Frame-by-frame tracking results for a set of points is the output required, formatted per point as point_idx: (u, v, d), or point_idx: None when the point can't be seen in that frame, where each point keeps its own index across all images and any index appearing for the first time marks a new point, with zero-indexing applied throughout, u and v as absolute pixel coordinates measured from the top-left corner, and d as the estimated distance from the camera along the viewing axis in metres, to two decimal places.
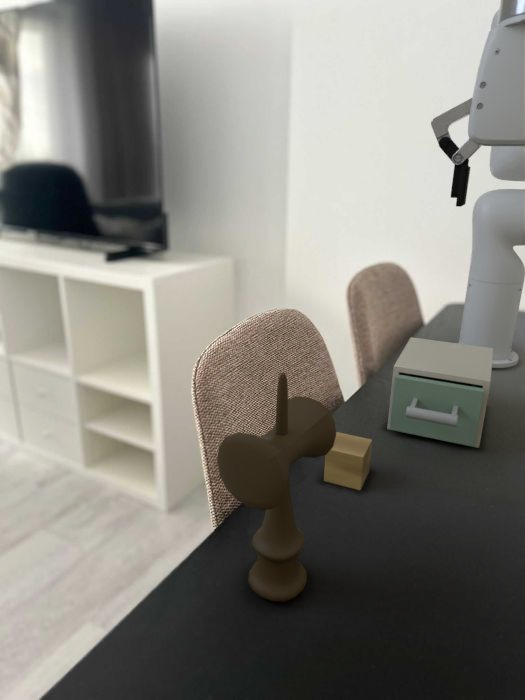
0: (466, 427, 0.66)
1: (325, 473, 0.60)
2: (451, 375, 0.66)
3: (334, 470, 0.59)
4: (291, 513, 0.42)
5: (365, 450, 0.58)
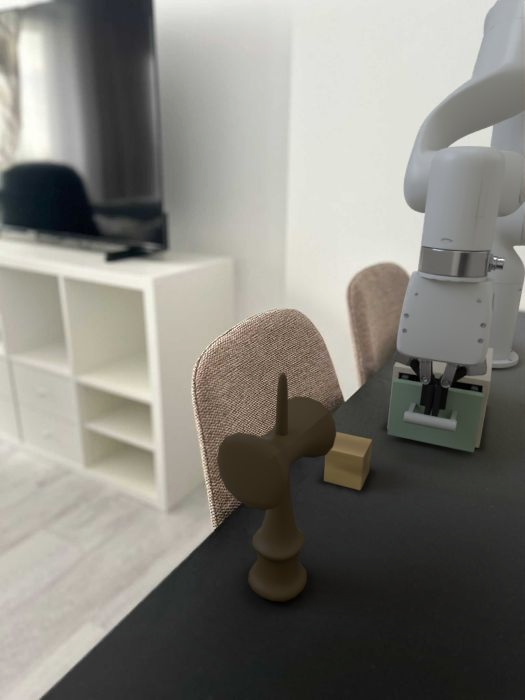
0: (465, 432, 0.64)
1: (325, 473, 0.60)
2: None
3: (334, 470, 0.59)
4: (291, 513, 0.42)
5: (365, 450, 0.58)
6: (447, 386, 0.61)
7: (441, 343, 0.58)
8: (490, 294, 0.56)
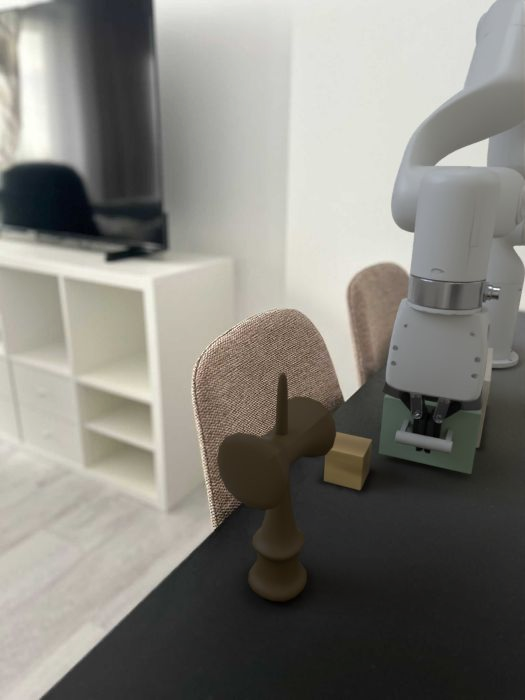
0: (462, 452, 0.60)
1: (325, 473, 0.60)
2: None
3: (334, 470, 0.59)
4: (291, 513, 0.42)
5: (365, 450, 0.58)
6: (440, 421, 0.57)
7: (432, 378, 0.55)
8: (485, 327, 0.52)
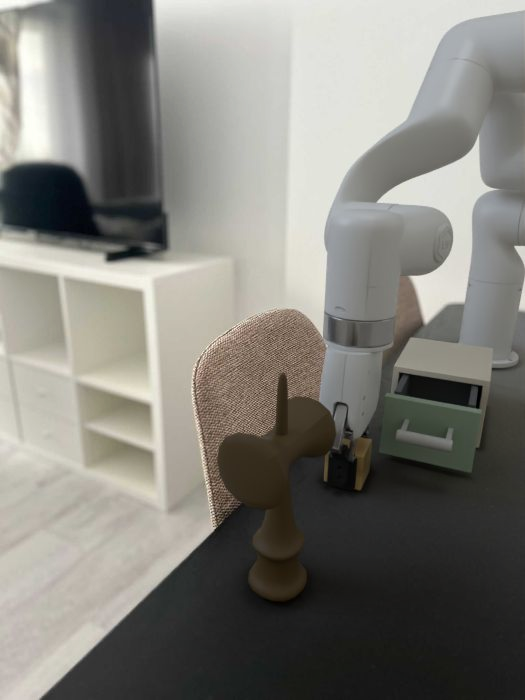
0: (462, 451, 0.60)
1: (325, 473, 0.60)
2: (451, 375, 0.66)
3: None
4: (291, 513, 0.42)
5: (365, 450, 0.58)
6: (366, 433, 0.62)
7: (373, 406, 0.57)
8: None
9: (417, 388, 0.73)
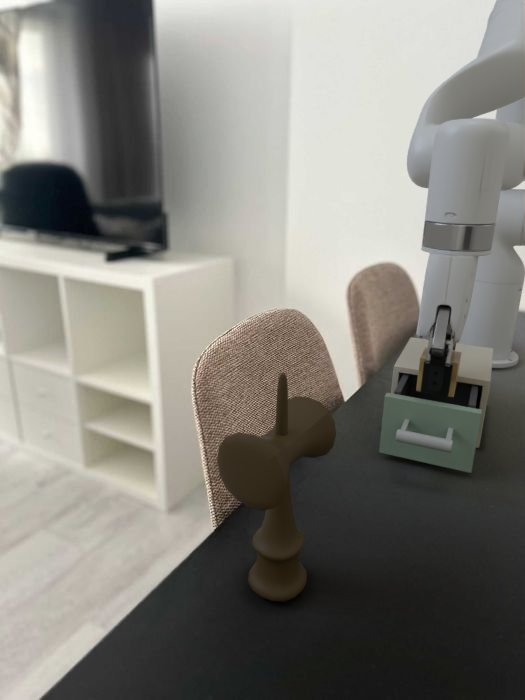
0: (462, 451, 0.60)
1: (418, 382, 0.63)
2: None
3: None
4: (291, 513, 0.42)
5: (458, 359, 0.61)
6: None
7: None
8: None
9: None
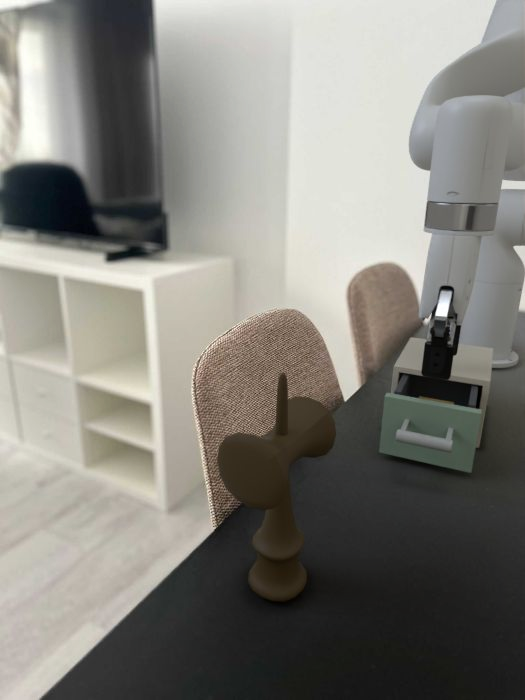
0: (462, 451, 0.60)
1: None
2: (451, 375, 0.66)
3: None
4: (291, 513, 0.42)
5: None
6: None
7: None
8: None
9: (417, 388, 0.73)
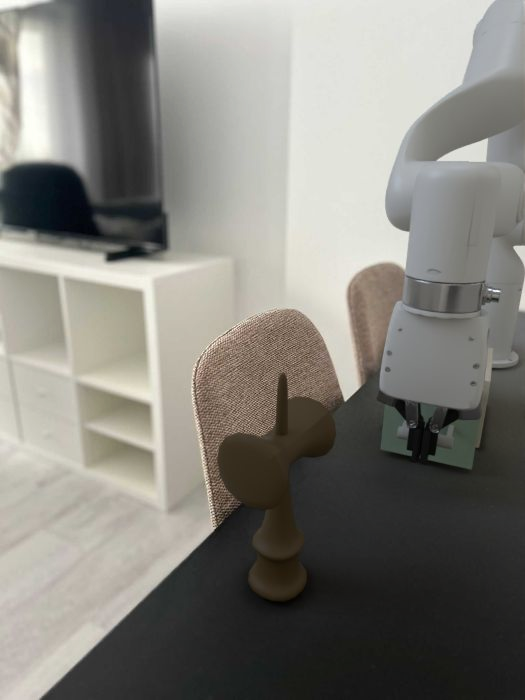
0: (463, 448, 0.61)
1: None
2: None
3: None
4: (291, 513, 0.42)
5: None
6: (437, 431, 0.54)
7: (428, 385, 0.51)
8: (484, 331, 0.48)
9: None
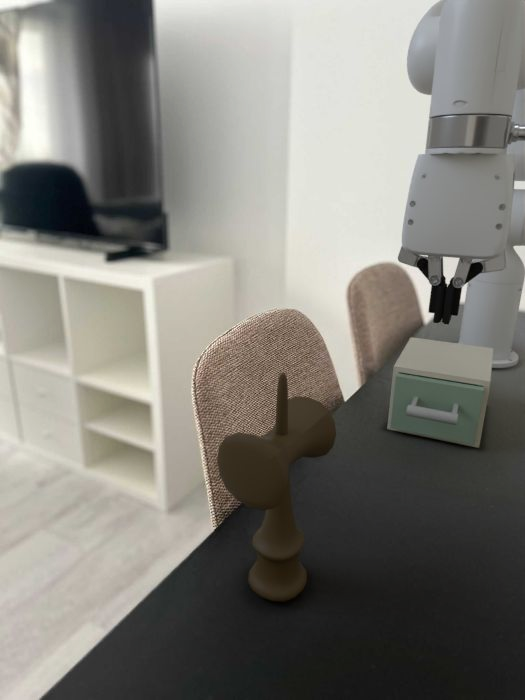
0: (466, 425, 0.66)
1: None
2: (451, 375, 0.66)
3: None
4: (291, 513, 0.42)
5: None
6: (460, 286, 0.53)
7: (452, 233, 0.51)
8: (510, 169, 0.48)
9: None
